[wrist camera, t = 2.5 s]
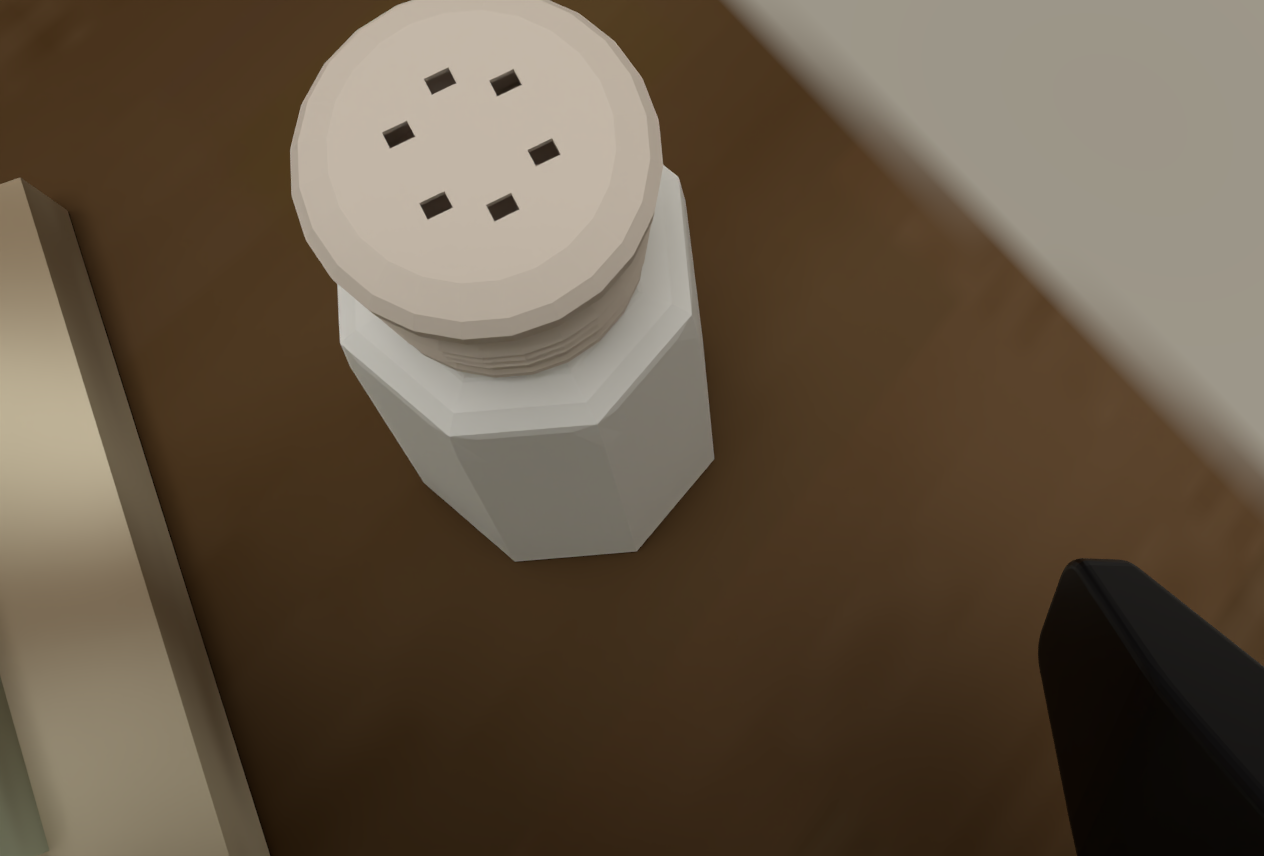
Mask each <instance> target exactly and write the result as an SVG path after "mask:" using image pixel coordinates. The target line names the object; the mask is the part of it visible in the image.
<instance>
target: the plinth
mask: <svg viewBox="0 0 1264 856" xmlns="http://www.w3.org/2000/svg"><path fill="white" fill-rule="evenodd" d="M0 856H270V853H269V850H268V847H267V844H266V841H265V838H264V834H263V831H262V828H261V825H260V822H259V818H258V815H257V812H256V809H255V806H254V803H253V799H252V796H251V793H250V790H249V787H248V783H247V780H246V777H245V774H244V771H243V767H242V764H241V761H240V758H239V755H238V752H237V748H236V745H235V742H234V739H233V736H232V732H231V729H230V726H229V723H228V720H227V717H226V713H225V710H224V707H223V704H222V701H221V697H220V694H219V691H218V688H217V685H216V682H215V678H214V675H213V672H212V669H211V666H210V662H209V659H208V656H207V653H206V650H205V647H204V643H203V640H202V637H201V634H200V631H199V627H198V624H197V621H196V618H195V615H194V612H193V608H192V605H191V602H190V599H189V596H188V592H187V589H186V586H185V583H184V580H183V577H182V573H181V570H180V567H179V564H178V561H177V557H176V554H175V551H174V548H173V545H172V541H171V538H170V535H169V532H168V529H167V526H166V522H165V519H164V516H163V513H162V510H161V506H160V503H159V500H158V497H157V494H156V491H155V487H154V484H153V481H152V478H151V475H150V471H149V468H148V465H147V462H146V459H145V456H144V452H143V449H142V446H141V443H140V440H139V436H138V433H137V430H136V427H135V424H134V421H133V417H132V414H131V411H130V408H129V405H128V401H127V398H126V395H125V392H124V389H123V386H122V382H121V379H120V376H119V373H118V370H117V366H116V363H115V360H114V357H113V354H112V351H111V347H110V344H109V341H108V338H107V335H106V331H105V328H104V325H103V322H102V319H101V316H100V312H99V309H98V306H97V303H96V300H95V296H94V293H93V290H92V287H91V284H90V280H89V277H88V274H87V271H86V268H85V265H84V261H83V258H82V255H81V252H80V249H79V245H78V242H77V239H76V236H75V233H74V230H73V226H72V223H71V220H70V217H69V214H68V211H67V210H66V209H65V208H63V207H62V206H60V205H59V204H57V203H56V202H55V201H53V200H52V199H50V198H49V197H47V196H46V195H45V194H43V193H42V192H40V191H39V190H37V189H36V188H35V187H33V186H32V185H30V184H29V183H27V182H26V181H25V180H23V179H22V178H17V179H14V180H12V181H9V182H6V183H3V184H0Z"/></svg>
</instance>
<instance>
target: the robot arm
mask: <svg viewBox="0 0 1264 856" xmlns="http://www.w3.org/2000/svg"><path fill="white" fill-rule="evenodd" d="M1038 658H1039V667H1040V673H1041V678H1042V683H1043V688H1044V693H1045V698H1046V704H1047V709H1048V714H1049V719H1050V724H1051V729H1052V734H1053V739H1054V744H1055V749H1056V755H1057V760H1058V765H1059V770H1060V775H1061V780H1062V785H1063V790H1064V795H1065V800H1066V805H1067V811H1068V816H1069V821H1070V826H1071V830H1072V835H1073V839H1074V844H1075V848H1076V853H1077V856H1264V667H1263V666H1262V665H1261V664H1260V663H1258V662H1257V661H1256V660H1254V659H1253V658H1252V657H1251V656H1249V655H1248V654H1247V653H1246V652H1244V651H1243V650H1242V649H1241V648H1239V647H1238V646H1237V645H1236V644H1234V643H1233V642H1232V641H1230V640H1229V639H1228V638H1227V637H1225V636H1224V635H1223V634H1222V633H1220V632H1219V631H1218V630H1217V629H1215V628H1214V627H1213V626H1212V625H1210V624H1209V623H1208V622H1206V621H1205V620H1204V619H1203V618H1201V617H1200V616H1199V615H1198V614H1196V613H1195V612H1194V611H1193V610H1191V609H1190V608H1189V607H1187V606H1186V605H1185V604H1184V603H1182V602H1181V601H1180V600H1179V599H1177V598H1176V597H1175V596H1174V595H1172V594H1171V593H1170V592H1169V591H1167V590H1166V589H1165V588H1163V587H1162V586H1161V585H1160V584H1158V583H1157V582H1156V581H1155V580H1153V579H1152V578H1151V577H1150V576H1148V575H1147V574H1146V573H1145V572H1143V571H1142V570H1141V569H1139V568H1138V567H1137V566H1135V565H1133V564H1132V563H1130V562H1128V561H1123V560H1114V559H1083V558H1081V559H1076V560H1073V561H1071V562H1070V563H1069V564H1068V565H1067V566H1066V567H1065V569H1064V571H1063V573H1062V575H1061V578H1060V580H1059V583H1058V586H1057V589H1056V592H1055V594H1054V597H1053V600H1052V603H1051V606H1050V608H1049V611H1048V614H1047V617H1046V620H1045V622H1044V625H1043V628H1042V631H1041V634H1040V639H1039V646H1038Z"/></svg>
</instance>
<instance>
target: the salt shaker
mask: <svg viewBox="0 0 1264 856" xmlns="http://www.w3.org/2000/svg"><path fill="white" fill-rule="evenodd" d="M290 161H291V192H292V199H293V202H294V205H295V208H296V211H297V214H298V217H299V220H300V223H301V227H302V230H303V233H304V236H305V239H306V241H307V243H308V244H309V246H310V247H311V248H312V250H313V251H314V253H315V254H316V256H317V257H318V259H319V260H320V262H321V263H322V265H323V266H324V268H325V269H326V271H327V272H328V274H329V275H330V277H331V278H332V280H334V281H335V282H336V283H337V287H338V313H339V332H340V344H341V346H342V349H343V351H344V353H345V356H346V358H347V361H348V363H349V365H350V367H351V369H352V370H353V372H354V374H355V375H356V377H357V378H358V380H359V381H360V383H361V385H362V386H363V388H364V389H365V391H366V392H367V394H368V396H369V397H370V399H371V400H372V402H373V403H374V405H375V407H376V408H377V410H378V411H379V413H380V414H381V416H382V418H383V419H384V421H385V422H386V424H387V425H388V427H389V429H390V430H391V432H392V433H393V435H394V436H395V438H396V440H397V441H398V443H399V444H400V446H401V447H402V449H403V451H404V452H405V454H406V455H407V457H408V459H409V460H410V462H411V463H412V465H413V466H414V468H415V470H416V471H417V473H418V474H419V476H420V477H421V479H422V481H423V482H424V483H425V484H426V485H427V486H428V487H429V488H430V489H432V490H433V491H434V492H435V493H436V494H437V495H438V496H440V497H441V498H442V499H443V500H444V501H445V502H447V503H448V504H449V505H450V506H451V507H452V508H454V509H455V510H456V511H457V512H458V513H459V514H460V515H462V516H463V517H464V518H465V519H466V520H467V521H469V522H470V523H471V524H472V525H473V526H474V527H475V528H477V529H478V530H479V531H480V532H481V533H482V534H484V535H485V536H486V537H487V538H488V539H489V540H490V541H492V542H493V543H494V544H495V545H496V546H497V547H499V548H500V549H501V550H502V551H503V552H504V553H506V554H507V555H508V556H509V557H510V558H511V559H512V560H514V561H515V562H517V561H529V560H541V559H553V558H564V557H576V556H588V555H600V554H612V553H624V552H636V551H638V549H639V548H640V547H641V546H642V545H643V543H644V542H645V541H646V540H647V539H648V537H649V536H650V535H651V534H652V533H653V531H654V530H655V529H656V528H657V527H658V526H659V524H660V523H661V522H662V521H663V520H664V518H665V517H666V516H667V515H668V514H669V512H670V511H671V510H672V509H673V508H674V506H675V505H676V504H677V503H678V502H679V501H680V499H681V498H682V497H683V496H684V495H685V493H686V492H687V491H688V490H689V489H690V487H691V486H692V485H693V484H694V483H695V482H696V480H697V479H698V478H699V477H700V476H701V474H702V473H703V472H704V471H705V470H706V468H707V467H708V466H709V465H710V464H711V462H712V461H713V460H714V450H713V440H712V430H711V419H710V409H709V399H708V389H707V378H706V368H705V358H704V347H703V338H702V330H701V322H700V314H699V306H698V298H697V290H696V282H695V274H694V266H693V258H692V250H691V242H690V234H689V226H688V218H687V210H686V202H685V198H684V194H683V191H682V187H681V184H680V180H679V177H678V176H676V175H675V174H674V173H673V172H671V171H670V170H669V169H668V168H666V167H665V166H664V165H663V160H662V150H661V139H660V128H659V120H658V117H657V115H656V112H655V110H654V107H653V104H652V102H651V99H650V97H649V94H648V92H647V89H646V86H645V84H644V81H643V79H642V77H641V76H640V74H639V73H638V72H637V70H636V69H635V68H634V66H633V65H632V64H631V62H630V61H629V60H628V58H627V57H626V56H625V54H624V53H623V52H622V50H621V49H620V48H619V46H618V45H617V44H616V42H615V41H614V40H612V39H611V38H610V37H608V36H607V35H606V34H605V33H603V32H602V31H601V30H599V29H598V28H597V27H596V26H594V25H593V24H592V23H591V22H589V21H588V20H587V19H585V18H584V17H583V16H582V15H580V14H579V13H577V12H575V11H573V10H570V9H568V8H566V7H563V6H561V5H559V4H556V3H554V2H552V1H550V0H411V1H408V2H405V3H402V4H399V5H396V6H395V7H393V8H392V9H390V10H388V11H387V12H385V13H384V14H382V15H380V16H379V17H377V18H376V19H374V20H372V21H371V22H369V23H368V24H366V25H364V26H363V27H361V28H360V29H358V30H356V31H355V33H354V34H353V35H352V36H351V37H350V38H349V39H348V40H347V41H346V42H345V43H344V44H343V45H342V46H341V47H340V48H339V49H338V50H337V51H336V52H335V53H334V54H333V55H332V56H331V57H330V59H329V60H328V61H327V62H326V63H325V64H324V65H323V67H322V69H321V71H320V72H319V74H318V76H317V78H316V79H315V81H314V83H313V85H312V87H311V88H310V90H309V92H308V94H307V96H306V97H305V99H304V101H303V103H302V105H301V108H300V112H299V116H298V120H297V124H296V128H295V132H294V136H293V140H292V144H291V148H290Z"/></svg>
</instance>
